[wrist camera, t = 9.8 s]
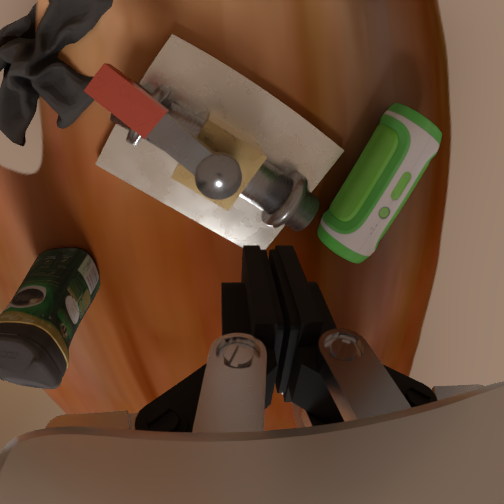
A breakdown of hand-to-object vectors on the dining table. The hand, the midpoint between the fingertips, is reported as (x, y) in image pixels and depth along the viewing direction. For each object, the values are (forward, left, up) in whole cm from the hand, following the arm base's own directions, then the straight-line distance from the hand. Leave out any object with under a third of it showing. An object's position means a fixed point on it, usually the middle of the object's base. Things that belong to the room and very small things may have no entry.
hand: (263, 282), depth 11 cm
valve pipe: (+1, +1, -25) cm, 25 cm away
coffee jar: (+10, +25, -25) cm, 37 cm away
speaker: (-15, -6, -25) cm, 30 cm away
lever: (+6, +1, -17) cm, 19 cm away
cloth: (+26, +3, -26) cm, 37 cm away
